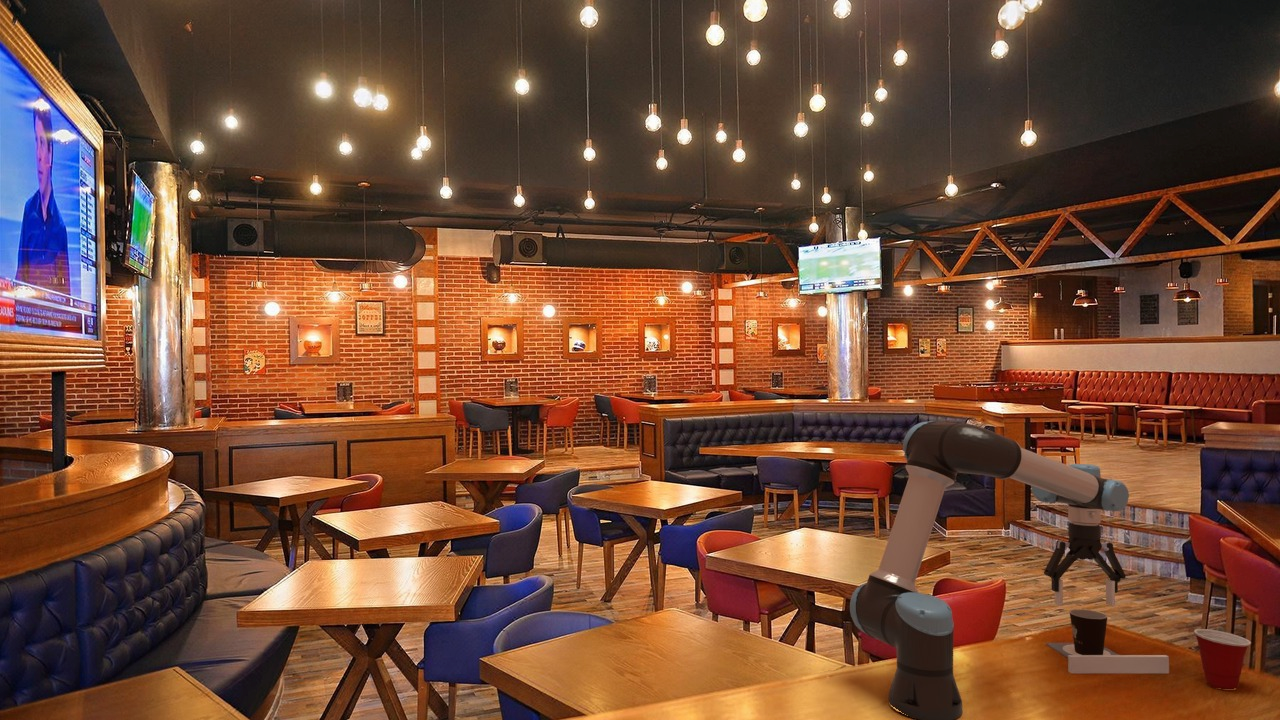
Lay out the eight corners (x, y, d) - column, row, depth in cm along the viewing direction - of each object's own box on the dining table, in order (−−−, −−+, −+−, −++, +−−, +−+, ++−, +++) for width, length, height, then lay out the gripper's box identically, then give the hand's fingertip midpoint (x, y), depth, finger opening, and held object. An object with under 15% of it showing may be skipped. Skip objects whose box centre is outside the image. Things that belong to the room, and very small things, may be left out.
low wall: (1071, 673, 194) (1070, 656, 195) (1068, 671, 196) (1068, 655, 196) (1169, 673, 195) (1168, 656, 195) (1165, 671, 196) (1165, 655, 196)
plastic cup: (1262, 697, 180) (1261, 643, 180) (1208, 693, 182) (1207, 640, 182) (1236, 679, 190) (1235, 629, 191) (1186, 676, 193) (1185, 626, 193)
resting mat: (1074, 662, 202) (1074, 660, 202) (1046, 644, 216) (1046, 642, 216) (1129, 662, 202) (1129, 660, 202) (1097, 644, 216) (1097, 642, 216)
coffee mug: (1107, 660, 202) (1107, 620, 202) (1069, 654, 206) (1068, 615, 207) (1108, 647, 212) (1108, 609, 212) (1071, 642, 216) (1071, 605, 217)
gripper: (1044, 524, 206) (1044, 607, 206) (1140, 526, 206) (1140, 609, 206) (1030, 519, 214) (1030, 599, 213) (1123, 521, 214) (1123, 601, 213)
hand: (1084, 604), depth 209 cm, fingers open, 13 cm apart
